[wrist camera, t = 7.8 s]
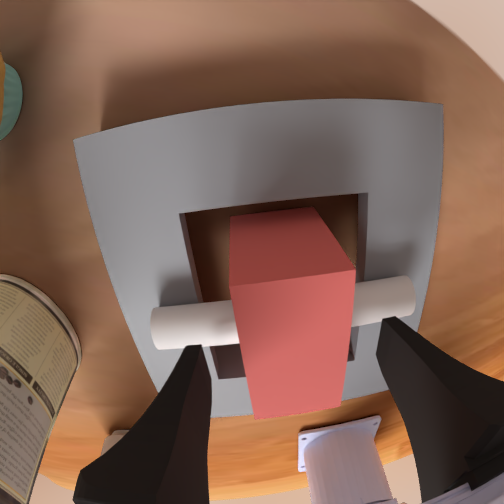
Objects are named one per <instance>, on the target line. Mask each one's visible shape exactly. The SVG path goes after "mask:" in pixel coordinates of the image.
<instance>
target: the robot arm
mask: <svg viewBox="0 0 504 504" xmlns="http://www.w3.org/2000/svg"><path fill="white" fill-rule="evenodd" d="M376 357H377V360H378V364H379V367H380V370H381V372H382V375H383V377H384V380H385V382H386V384H387V386H388V388H389V390H390V392H391V394H392V396H393V398H394V400H395V403H396V405H397V407H398V409H399V411H400V413H401V415H402V418H403V420H404V423H405V426H406V429H407V432H408V436H409V439H410V442H411V446H412V450H413V454H414V458H415V462H416V467H417V472H418V477H419V484H420V490H421V498H422V503H421V504H504V381H500V380H498V379H495V378H492V377H490V376H487V375H485V374H483V373H480V372H478V371H476V370H474V369H472V368H470V367H468V366H466V365H465V364H463V363H461V362H459V361H457V360H456V359H454V358H452V357H451V356H449V355H448V354H446V353H445V352H443V351H442V350H440V349H439V348H437V347H436V346H434V345H433V344H432V343H430V342H429V341H428V340H426V339H425V338H424V337H422V336H421V335H420V334H418V333H417V332H416V331H414V330H413V329H412V328H411V327H409V326H408V325H407V324H405V323H404V322H403V321H402V320H400V319H399V318H397V317H396V316H393V317H388V318H383V319H382V323H381V328H380V334H379V339H378V345H377V350H376ZM211 407H212V378H211V375H210V372H209V368H208V365H207V361H206V358H205V355H204V351H203V348H202V344H199V345H186V346H185V348H184V349H183V351H182V353H181V355H180V357H179V359H178V361H177V363H176V365H175V367H174V369H173V370H172V372H171V374H170V376H169V377H168V379H167V381H166V382H165V384H164V386H163V387H162V389H161V390H160V392H159V393H158V395H157V396H156V398H155V399H154V401H153V402H152V404H151V405H150V406H149V408H148V409H147V410H146V412H145V413H144V414H143V415H142V416H141V418H140V419H139V420H138V421H137V422H136V424H135V425H134V426H133V427H132V428H131V429H130V430H129V431H128V432H127V433H126V434H125V435H124V436H123V437H122V438H121V439H120V440H119V441H118V442H117V443H116V444H115V445H113V446H112V447H111V448H110V449H109V450H108V451H107V452H105V453H104V454H103V455H102V456H100V457H99V458H98V459H96V460H95V461H93V462H92V463H90V464H89V465H88V466H86V467H85V468H83V469H81V471H80V473H79V476H78V479H77V483H76V487H75V491H74V496H73V501H74V503H75V504H209V489H208V466H207V450H208V438H209V428H210V418H211ZM380 421H381V417H380V416H379V415H376V416H373V417H369V418H365V419H360V420H356V421H352V422H347V423H343V424H338V425H333V426H328V427H323V428H317V429H312V430H306V431H301V432H300V433H299V434H298V471H300V472H303V471H306V474H307V479H308V485H309V491H310V496H311V502H312V504H398V503H397V500H396V499H395V498H394V499H393V497H392V494H391V491H390V488H389V485H388V481H387V479H386V475H385V472H384V469H383V466H382V463H381V460H380V457H379V454H378V451H377V448H376V445H375V442H374V437H375V435H376V432H377V429H378V427H379V424H380ZM401 504H406V503H401Z"/></svg>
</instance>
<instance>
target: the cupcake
mask: <svg viewBox="0 0 504 504" xmlns="http://www.w3.org/2000/svg"><path fill="white" fill-rule="evenodd" d="M22 96H23V92H22V84H21V80H20V77H19V75H18V73H17V72H16V70H15V69H14V68H13V67H11V66H10V65H8V64H6V63H5V62H4V61H3V58H2V54H1V51H0V140H2V139H3V138H4V137H6V136H7V135H8V134H9V132H10V131H11V130H12V128H13V127H14V125H15V123H16V121H17V119H18V116H19V113H20V110H21V105H22Z"/></svg>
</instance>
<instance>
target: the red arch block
mask: <svg viewBox="0 0 504 504" xmlns="http://www.w3.org/2000/svg"><path fill="white" fill-rule="evenodd" d="M355 278H356V269H355V267H354V266H353V264H352V263H351V261H350V260H349V258H348V256H347V255H346V253H345V252H344V250H343V249H342V247H341V246H340V244H339V243H338V242H337V240H336V239H335V237H334V236H333V234H332V233H331V231H330V230H329V228H328V227H327V225H326V224H325V223H324V221H323V220H322V218H321V217H320V215H319V214H318V213H317V211H316V210H315V208H314V207H305V208H296V209H287V210H278V211H270V212H261V213H253V214H245V215H237V216H230V247H229V289H230V295H231V300H232V306H233V311H234V317H235V322H236V327H237V333H238V338H239V343H240V348H241V354H242V359H243V364H244V369H245V374H246V379H247V384H248V389H249V394H250V399H251V404H252V409H253V413H254V418H255V420H256V419H265V418H273V417H281V416H288V415H295V414H301V413H307V412H313V411H319V410H324V409H330V408H335V407H340V405H341V399H342V393H343V386H344V380H345V373H346V366H347V358H348V351H349V342H350V334H351V324H352V314H353V304H354V292H355Z"/></svg>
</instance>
